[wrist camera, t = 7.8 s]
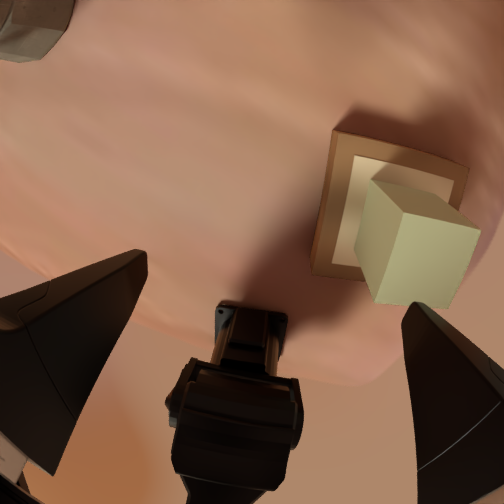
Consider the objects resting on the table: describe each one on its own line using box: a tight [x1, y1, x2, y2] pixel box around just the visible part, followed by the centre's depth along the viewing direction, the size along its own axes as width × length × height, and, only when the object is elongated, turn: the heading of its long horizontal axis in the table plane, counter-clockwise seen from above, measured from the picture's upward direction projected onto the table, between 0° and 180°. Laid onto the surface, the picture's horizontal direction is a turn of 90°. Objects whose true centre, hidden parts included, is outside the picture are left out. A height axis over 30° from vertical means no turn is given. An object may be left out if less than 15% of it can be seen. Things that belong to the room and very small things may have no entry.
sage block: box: [354, 179, 481, 309], centre depth 15 cm, size 5×5×6 cm
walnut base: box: [310, 130, 469, 282], centre depth 19 cm, size 10×10×3 cm
